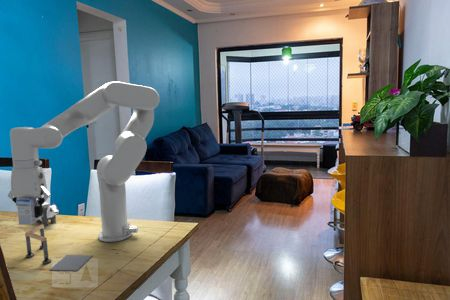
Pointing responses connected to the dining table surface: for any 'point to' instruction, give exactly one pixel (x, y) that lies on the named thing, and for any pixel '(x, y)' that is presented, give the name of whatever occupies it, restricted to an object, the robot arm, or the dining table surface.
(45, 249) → the wooden l-shaped stand
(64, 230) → the dining table surface
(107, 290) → the dining table surface
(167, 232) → the dining table surface
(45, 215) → the giant panda
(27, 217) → the medicine box
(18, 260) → the dining table surface
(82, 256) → the mat
